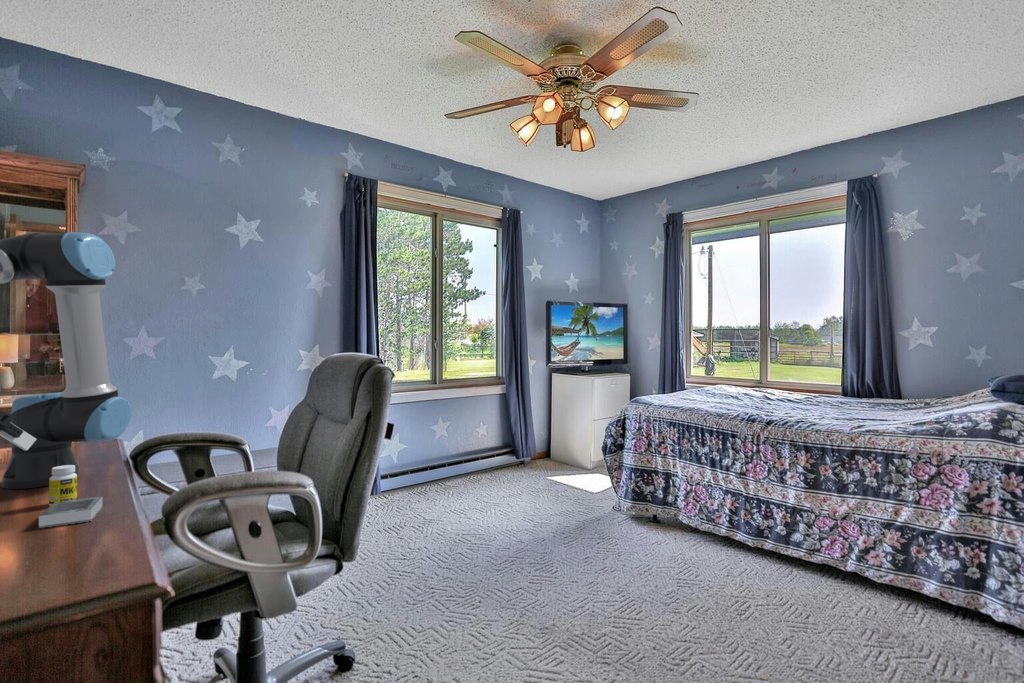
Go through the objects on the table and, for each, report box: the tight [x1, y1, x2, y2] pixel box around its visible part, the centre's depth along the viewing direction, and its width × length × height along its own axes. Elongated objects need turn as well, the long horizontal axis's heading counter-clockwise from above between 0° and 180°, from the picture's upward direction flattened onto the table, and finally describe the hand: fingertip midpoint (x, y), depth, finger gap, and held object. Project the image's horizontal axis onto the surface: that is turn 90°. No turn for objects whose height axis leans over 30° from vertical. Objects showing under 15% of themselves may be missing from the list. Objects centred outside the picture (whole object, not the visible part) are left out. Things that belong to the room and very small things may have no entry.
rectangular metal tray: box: [38, 496, 104, 529], centre depth 105 cm, size 10×8×2 cm
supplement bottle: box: [48, 465, 78, 507], centre depth 114 cm, size 5×5×8 cm
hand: (5, 448), depth 104 cm, fingers open, 13 cm apart
